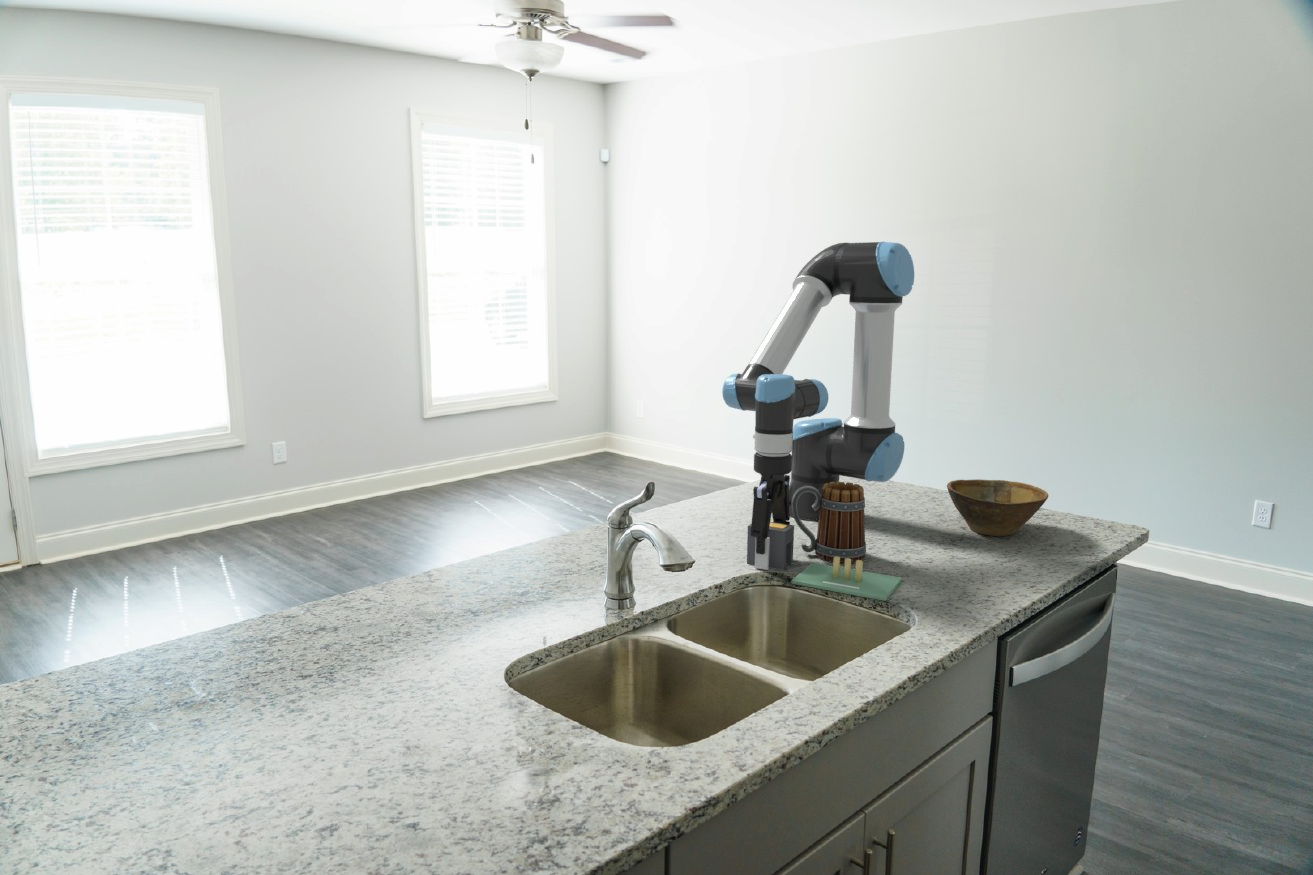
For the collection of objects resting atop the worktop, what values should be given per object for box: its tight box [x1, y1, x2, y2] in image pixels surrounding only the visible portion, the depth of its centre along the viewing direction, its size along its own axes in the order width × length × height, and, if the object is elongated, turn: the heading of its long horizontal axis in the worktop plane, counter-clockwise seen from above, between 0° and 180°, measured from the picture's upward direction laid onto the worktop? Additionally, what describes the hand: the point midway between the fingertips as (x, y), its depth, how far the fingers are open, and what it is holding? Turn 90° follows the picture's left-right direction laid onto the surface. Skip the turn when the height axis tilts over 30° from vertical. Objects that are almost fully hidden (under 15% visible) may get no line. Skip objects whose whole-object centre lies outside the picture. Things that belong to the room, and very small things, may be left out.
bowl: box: [946, 479, 1049, 537], centre depth 202 cm, size 22×23×10 cm
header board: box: [790, 556, 903, 602], centre depth 169 cm, size 12×18×5 cm, turn 61°
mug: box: [792, 481, 867, 564], centre depth 184 cm, size 16×11×15 cm
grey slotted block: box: [746, 521, 795, 571], centre depth 179 cm, size 5×8×8 cm, turn 61°
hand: (769, 562), depth 180 cm, fingers open, 8 cm apart
